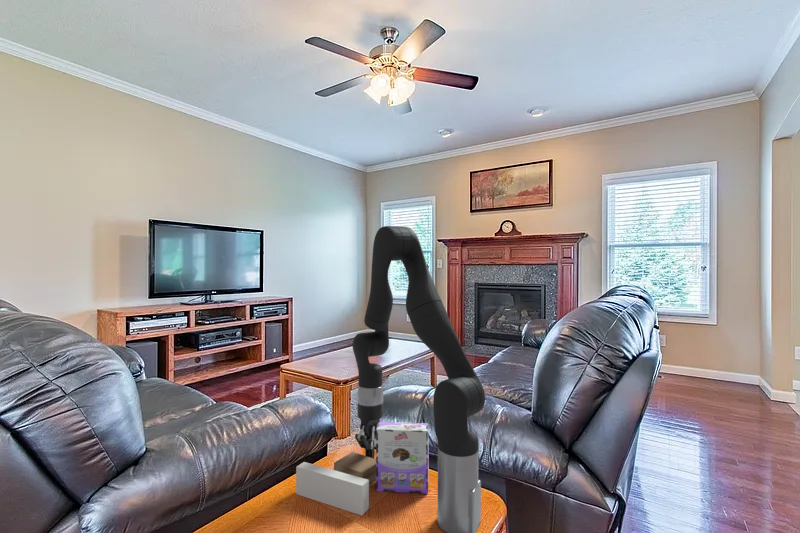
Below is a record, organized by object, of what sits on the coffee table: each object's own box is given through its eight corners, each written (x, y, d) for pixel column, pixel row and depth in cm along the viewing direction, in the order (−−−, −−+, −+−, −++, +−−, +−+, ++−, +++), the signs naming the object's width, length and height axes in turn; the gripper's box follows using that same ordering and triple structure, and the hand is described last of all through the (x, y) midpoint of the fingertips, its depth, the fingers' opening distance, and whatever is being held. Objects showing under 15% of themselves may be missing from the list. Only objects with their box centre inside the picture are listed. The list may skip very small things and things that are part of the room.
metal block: (380, 478, 111) (380, 460, 111) (362, 492, 104) (362, 472, 104) (352, 469, 116) (352, 451, 116) (333, 481, 110) (333, 462, 110)
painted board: (368, 508, 97) (368, 479, 97) (362, 515, 94) (362, 485, 94) (303, 488, 105) (304, 461, 106) (296, 493, 103) (296, 466, 103)
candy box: (428, 482, 109) (429, 422, 109) (428, 495, 103) (428, 431, 103) (378, 479, 110) (379, 420, 110) (375, 491, 104) (375, 428, 104)
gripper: (369, 409, 109) (369, 473, 109) (392, 396, 121) (392, 453, 120) (346, 405, 112) (346, 467, 112) (371, 392, 124) (370, 448, 124)
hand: (369, 460), depth 116 cm, fingers closed
